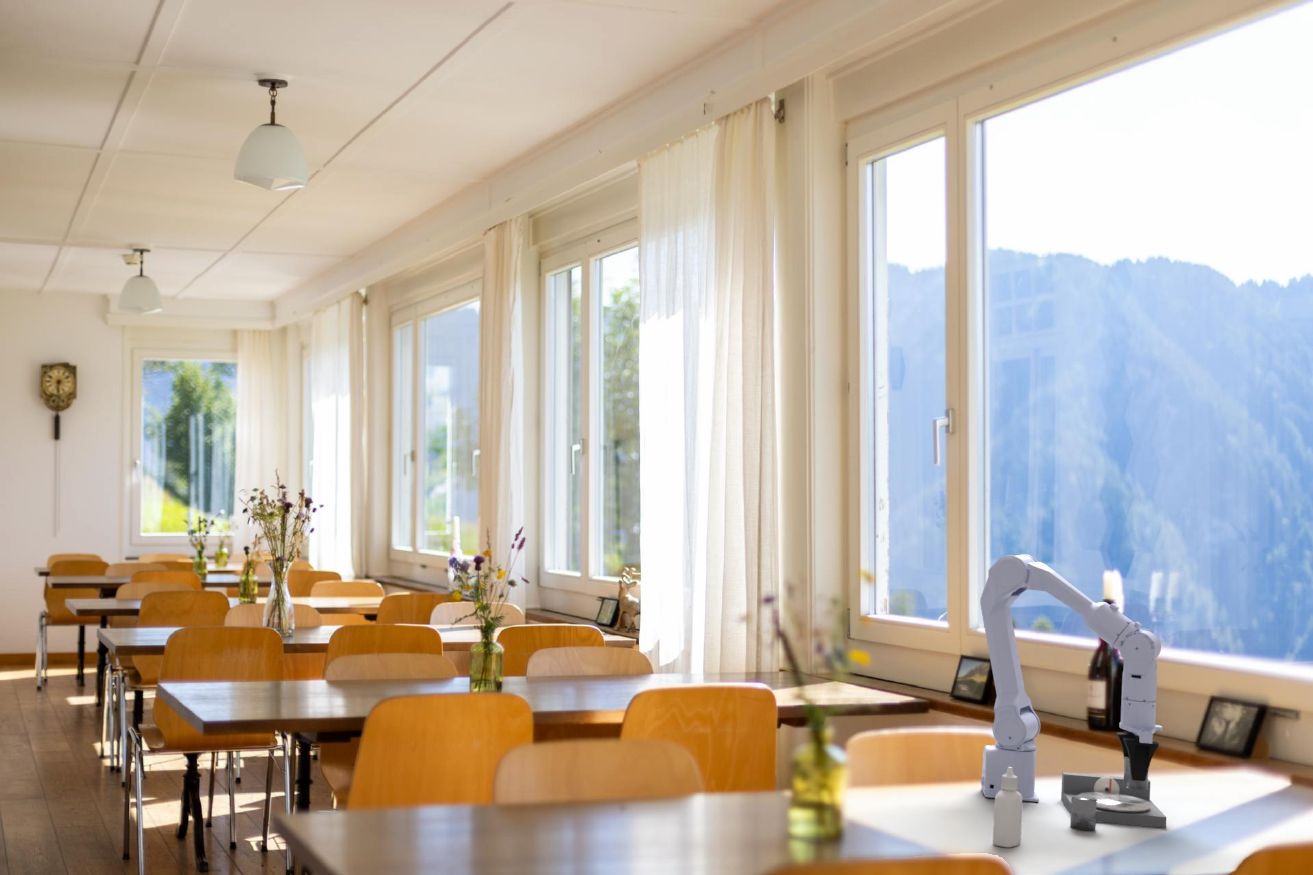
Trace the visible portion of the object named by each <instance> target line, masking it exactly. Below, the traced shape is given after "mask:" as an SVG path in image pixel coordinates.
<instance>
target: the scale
mask: <svg viewBox="0 0 1313 875" xmlns="http://www.w3.org/2000/svg"><path fill="white" fill-rule="evenodd" d="M1061 774H1062V775H1061V798H1060V799H1061V801H1062V803H1063V805H1064V806H1065V807H1066V810H1067V811H1068V812H1069V814H1070V815H1071V799H1072V796H1075V795H1079V794H1081V793H1085V792H1108V793H1117V794H1123V795H1128V796H1133V797H1137V798H1140V799H1143V800H1145V801H1147V802H1149V803H1150V810H1148V811H1145V812H1117V811H1109V810H1103V809H1098V808H1096V823H1106V824H1118V825H1119V824H1120V825H1131V826H1140V827H1141V826H1142V827H1152V828H1160V829H1161V828H1163V829H1167V816H1166V815H1165V814H1164V812H1162V811H1161V809H1160V808H1158V806H1156V805H1155V803H1154V802H1152V800H1151V780H1149V779H1148V789H1146V790H1136V789H1130V788H1126V787H1124V786H1123V783H1124V776H1114V775H1104V774H1103V775H1102V774H1090V773H1080V772H1068V771H1067V772H1066V771H1062V773H1061Z"/></svg>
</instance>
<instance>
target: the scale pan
mask: <svg viewBox="0 0 1313 875" xmlns="http://www.w3.org/2000/svg"><path fill="white" fill-rule="evenodd" d="M1079 795H1081V796H1089V797H1093V798H1095V799H1097V804H1096V808H1098V809H1103V810H1109V811H1117V812H1145V811H1148V810H1150V803H1149V802H1147V801H1145V800H1143V799H1140V798H1137V797H1133V796H1128V795H1123V794H1117V793H1108V792H1085V793H1081V794H1079Z"/></svg>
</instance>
